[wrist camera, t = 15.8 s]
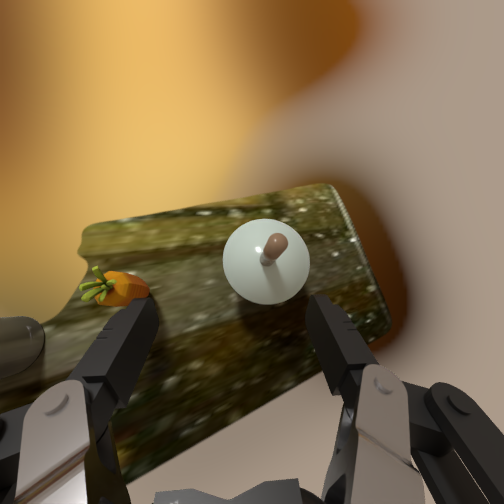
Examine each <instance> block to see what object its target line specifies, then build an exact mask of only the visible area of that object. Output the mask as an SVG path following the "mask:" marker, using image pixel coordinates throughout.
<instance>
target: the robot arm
mask: <svg viewBox="0 0 504 504" xmlns="http://www.w3.org/2000/svg"><path fill="white" fill-rule="evenodd" d="M305 323H306V327H307V330H308V333H309V335H310V338H311V341H312V343H313V346H314V349H315V351H316V354H317V357H318V359H319V362H320V365H321V367H322V370H323V373H324V375H325V378H326V381H327V383H328V386H329V389H330V391H331V394H332V395H333V396H334V395H341V396H342V399H343V401H344V404H343V407H342V412H341V417H340V422H339V427H338V432H337V437H336V442H335V447H334V452H333V456H332V460H331V462H330V465H329V468H328V471H327V474H326V479H325V483H324V487H323V492H322V496H321V499H320V498H319V497H317V496H316V495H314V494H313V493H311V492H309V491H307V490H305V489H303V488H300V487H299V481H298V478H296V479H286V480H276V481H266V482H263V483H261V484H259V485H257V486H255V487H253V488H252V489H250V490H248V491H246V492H244V493H242V494H240V495H238V496H237V497H235V498H233V499H230V500H226V499H222V498H219V497H216V496H213V495H210V494H207V493H204V492H201V491H198V490H195V489H184V490H174V491H163V492H156V494H155V498H154V503H152V504H425V496H424V486H423V481H422V478H421V475H422V477H423V479H424V481H425V483H426V485H427V487H428V489H429V491H430V493H431V495H432V497H433V499H434V501H435V503H436V504H489V503H490V504H504V435H503V434H502V432H501V431H500V430H499V429H498V428H497V427H496V425H495V424H494V423H493V422H492V421H491V420H490V418H489V417H488V416H487V415H486V414H485V413H484V411H483V410H482V409H481V408H480V407H479V406H478V405H477V403H476V402H475V401H474V400H473V399H472V398H470V397H469V396H468V395H467V394H466V393H464V392H463V391H461V390H460V389H458V388H456V387H454V386H452V385H450V384H447V383H441V382H438V383H435V384H434V385H432V386H431V387H430V389H428V388H424V387H421V386H417V385H414V384H410V383H407V382H404V381H401V380H400V379H399V378H398V377H397V376H396V375H395V374H394V373H393V372H392V371H390V370H388V369H387V368H385V367H383V366H380V365H379V363H378V362H377V360H376V359H375V357H374V356H373V354H372V352H371V351H370V349H369V348H368V346H367V345H366V343H365V341H364V340H363V338H362V337H361V335H360V334H359V332H358V331H357V329H356V327H355V326H354V324H353V323H352V321H351V319H350V318H349V316H348V315H347V313H346V312H345V311H344V310H343V309H342V308H341V307H339V306H338V305H333V304H332V303H331V301H330V299H329V297H328V296H327V295H311V296H310V298H309V302H308V306H307V310H306V314H305ZM158 327H159V318H158V315H157V312H156V308H155V305H154V302H153V299H152V298H134V299H132V301H131V302H130V304H129V305H128V307H127V308H126V309H121V310H120V311H119V312H117V313H116V314H115V315H114V316H112V317H111V318H110V319H109V321H108V322H107V324H106V325H105V326H104V328H103V331H101V332H100V333H99V335H98V336H97V339H96V340H94V342H93V343H92V345H91V346H90V347H89V349H88V350H87V352H86V353H85V355H84V356H83V357H82V359H81V360H80V362H79V363H78V364H77V366H76V367H75V369H74V370H73V371H72V373H71V374H70V376H69V377H68V378H67V379H66V380H65V381H64V382H61V383H59V384H57V385H55V386H53V387H51V388H50V389H48V390H47V391H45V392H44V393H43V394H42V395H41V396H39V397H38V398H37V399H36V400H35V402H33V403H31V404H28V405H25V406H22V407H19V408H16V409H14V410H11V411H8V412H5V413H2V414H0V504H131V500H130V496H129V493H128V490H127V487H126V485H125V483H124V481H123V478H122V475H121V471H120V466H119V461H118V455H117V450H116V445H115V440H114V435H113V430H112V425H111V421H110V418H111V416H112V414H113V411H114V409H115V408H126V406H127V404H128V401H129V399H130V397H131V394H132V392H133V389H134V387H135V384H136V382H137V380H138V377H139V375H140V372H141V370H142V368H143V365H144V363H145V360H146V358H147V355H148V353H149V351H150V348H151V346H152V343H153V341H154V339H155V336H156V334H157V331H158ZM43 343H44V332H43V329H42V327H41V325H40V324H39V323H38V322H37V321H36V320H34V319H33V318H30V317H24V316H20V317H19V316H18V317H2V318H0V379H2V378H5V377H8V376H11V375H14V374H17V373H19V372H21V371H23V370H25V369H26V368H27V367H29V366H30V365H31V364H32V363H33V362H34V361H35V360H36V358H37V357H38V355H39V354H40V352H41V350H42V347H43ZM454 450H455V451H456V452H457V454H458V455H459V456H460V458H461V460H462V461H463V463H464V464H465V466H466V467H467V469H468V470H469V472H470V473H471V475H472V476H473V478H474V479H475V481H476V482H477V484H478V485H479V487H480V488H481V490H482V492H483V493H484V495H485V496H486V498H487V499H488V501H489V502H488V501H487V499H486V498H485V496H484V495H483V493H482V492H481V490H480V489H479V487H478V486H477V484H476V483H475V481H474V480H473V478H472V476H471V475H470V474H469V472H468V470H467V469H466V467H465V466H464V464H463V463H462V461H461V460H460V458H459V457H458V455H457V454H456V452H455V451H454ZM411 455H412V458H413V459H414V462H415V463H416V465H417V467H418V469H419V471H420V473H421V475H420V473H419V471H418V470H417V469H416V468H414V467H413V465H412V462H411Z"/></svg>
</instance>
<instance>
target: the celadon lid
mask: <svg viewBox="0 0 504 504" xmlns="http://www.w3.org/2000/svg"><path fill="white" fill-rule="evenodd" d="M223 267H224V272H225V275H226V277H227V280H228V281H229V283H230V285H231V286H232V288H233V289H234V290H235V291H236V292H237V293H238V294H239V295H241V296H242V297H243V298H245V299H247V300H249V301H251V302H254V303H258V304H277V303H281V302H283V301H286V300H288V299H290V298H291V297H293V296H294V295H295V294H296V293H297V292H298V291H299V290H300V289H301V288H302V286H303V285H304V283H305V281H306V279H307V276H308V273H309V267H310V260H309V253H308V250H307V247H306V245H305V243H304V241H303V239H302V238H301V237H300V235H299V234H298V233H297V232H296V231H295V230H294V229H292V228H291V227H290V226H288V225H286V224H284V223H282V222H280V221H276V220H271V219H258V220H253V221H250V222H248V223H246V224H244V225H242V226H241V227H239V228H238V229H237V230H236V231H235V232H234V233H233V234H232V235H231V236H230V238H229V239H228V241H227V243H226V246H225V249H224V254H223Z"/></svg>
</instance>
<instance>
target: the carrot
mask: <svg viewBox="0 0 504 504" xmlns="http://www.w3.org/2000/svg"><path fill="white" fill-rule="evenodd" d="M92 270H93V273H94V274H95V276H96V277H97V278H98V279H96V282H88V283H84V284H81V285H80V287H79V290H80V291H83V290H86V289H89V288H92V287H94V288H93V289H92V290H90V291H89V292H87V293H86V294H84V295H83V296H82V298H81V300H83V301H84V302H89V301H90V300H91V299H92V298H94V297H95V299H96V300H97V302H98V304H100V305H107V306H116V307H117V306H128V305H129V304H130V302H131V301H132V299H134V298H146V297H147V296H148V295H149V291H150V289H149V287H148V286H147V284H146V283H145V282H144V281H143V280H142V279H140V278H139V277H137V276H134V275H131V274H128V273H122V272H114V271H109V272H107V273H106V274H104V275H103V274H102V272H101V271H100V269H99V268H98V266H96V267H94V268H92Z"/></svg>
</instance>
